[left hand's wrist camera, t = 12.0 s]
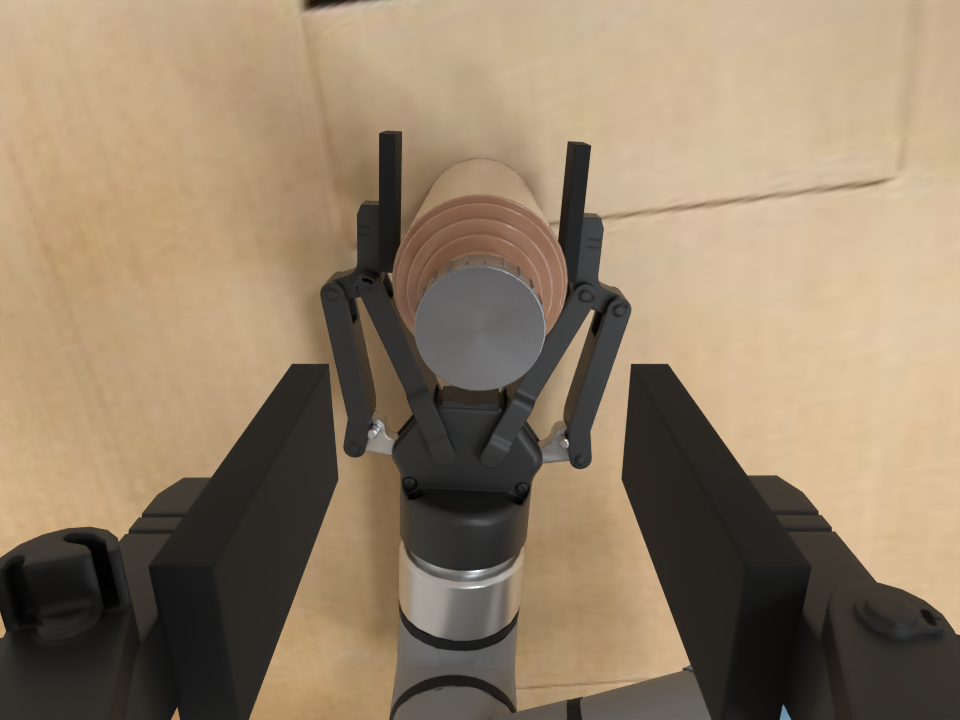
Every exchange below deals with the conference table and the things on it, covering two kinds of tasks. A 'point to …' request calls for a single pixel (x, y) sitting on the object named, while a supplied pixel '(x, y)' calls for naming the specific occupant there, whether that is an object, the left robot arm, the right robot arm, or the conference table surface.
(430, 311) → the cap
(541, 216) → the bottle
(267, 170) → the conference table surface
